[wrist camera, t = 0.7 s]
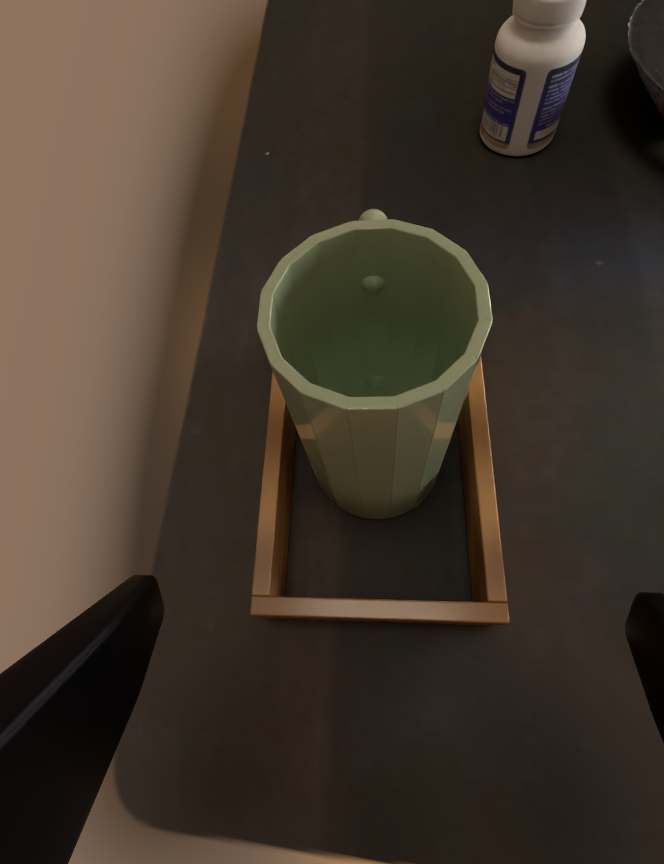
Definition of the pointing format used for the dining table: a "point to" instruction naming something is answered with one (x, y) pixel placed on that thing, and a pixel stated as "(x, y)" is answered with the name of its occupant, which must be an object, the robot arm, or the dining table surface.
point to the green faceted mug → (375, 355)
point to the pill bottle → (531, 75)
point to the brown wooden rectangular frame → (480, 611)
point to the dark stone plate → (649, 47)
